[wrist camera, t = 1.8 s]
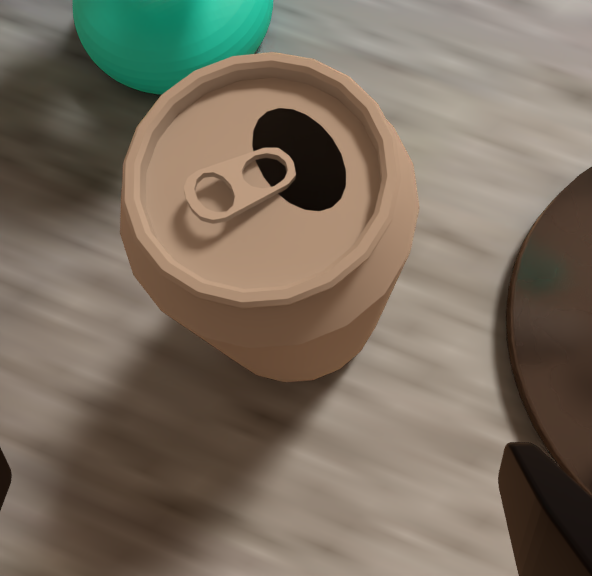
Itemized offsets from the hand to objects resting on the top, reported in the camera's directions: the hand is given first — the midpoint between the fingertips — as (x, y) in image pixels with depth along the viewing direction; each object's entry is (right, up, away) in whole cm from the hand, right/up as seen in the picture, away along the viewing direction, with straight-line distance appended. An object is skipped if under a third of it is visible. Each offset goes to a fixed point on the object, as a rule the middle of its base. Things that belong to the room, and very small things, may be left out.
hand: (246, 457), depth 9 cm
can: (+1, +2, +14) cm, 14 cm away
